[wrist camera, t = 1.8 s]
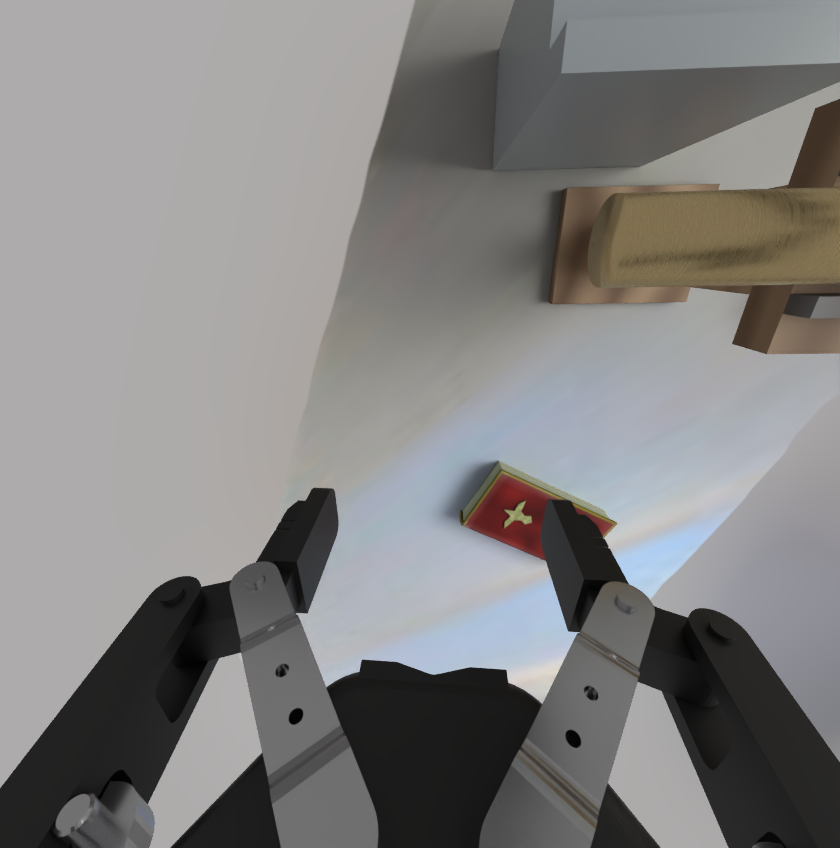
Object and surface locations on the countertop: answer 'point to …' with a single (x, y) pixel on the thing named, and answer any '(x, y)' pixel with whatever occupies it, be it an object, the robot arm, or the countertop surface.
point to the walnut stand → (766, 306)
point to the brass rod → (717, 238)
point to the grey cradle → (650, 75)
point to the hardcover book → (520, 509)
